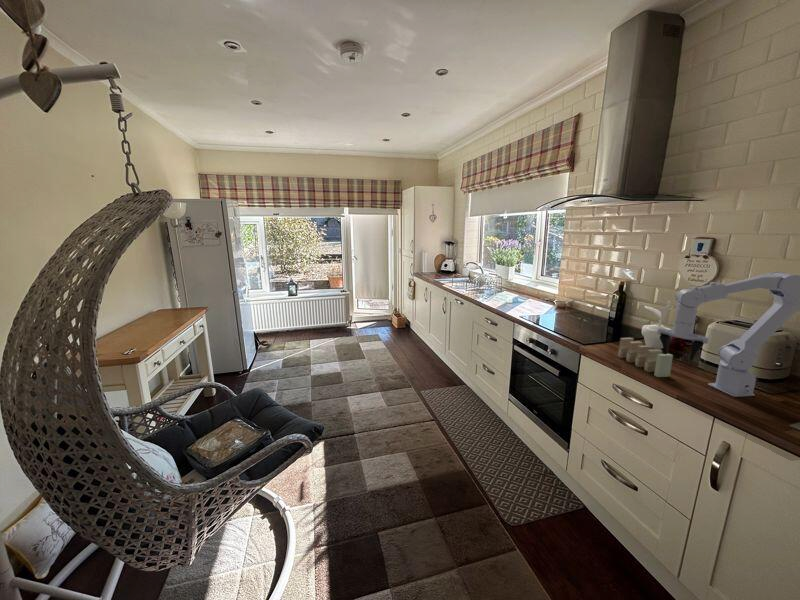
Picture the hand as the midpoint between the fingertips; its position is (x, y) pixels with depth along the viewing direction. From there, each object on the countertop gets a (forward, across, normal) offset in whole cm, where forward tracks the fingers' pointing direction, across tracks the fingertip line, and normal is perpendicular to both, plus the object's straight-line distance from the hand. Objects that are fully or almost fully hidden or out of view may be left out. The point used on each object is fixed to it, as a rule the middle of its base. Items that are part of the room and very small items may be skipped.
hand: (678, 356), depth 125 cm
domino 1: (+10, +22, -13) cm, 27 cm away
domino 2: (+10, +17, -11) cm, 23 cm away
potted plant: (+11, +18, -38) cm, 44 cm away
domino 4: (+10, +9, -5) cm, 15 cm away
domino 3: (+10, +13, -8) cm, 19 cm away
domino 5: (+10, +5, -3) cm, 12 cm away
